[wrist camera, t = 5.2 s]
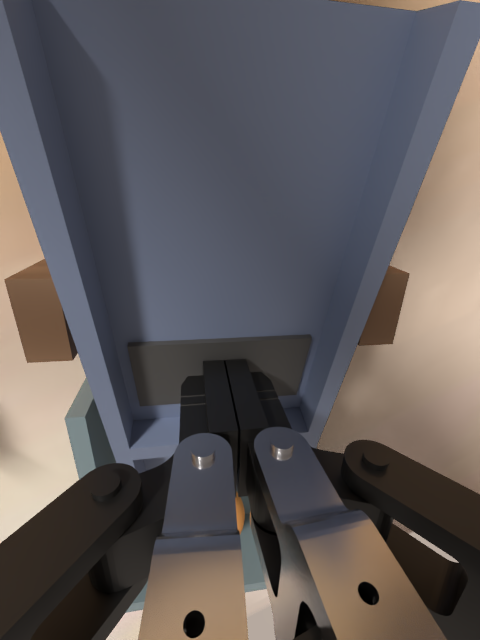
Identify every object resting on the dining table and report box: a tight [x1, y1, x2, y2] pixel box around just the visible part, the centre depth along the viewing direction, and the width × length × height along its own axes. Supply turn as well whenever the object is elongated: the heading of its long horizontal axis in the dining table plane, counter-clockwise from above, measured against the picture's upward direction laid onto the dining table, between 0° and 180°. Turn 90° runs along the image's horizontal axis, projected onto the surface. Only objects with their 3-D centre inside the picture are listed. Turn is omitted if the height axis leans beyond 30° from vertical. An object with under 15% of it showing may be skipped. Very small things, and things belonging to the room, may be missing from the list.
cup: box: [65, 377, 317, 613], centre depth 19 cm, size 15×13×5 cm
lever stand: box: [5, 259, 409, 363], centre depth 13 cm, size 6×14×8 cm, turn 88°
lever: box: [0, 0, 480, 473], centre depth 11 cm, size 19×8×2 cm, turn 178°
